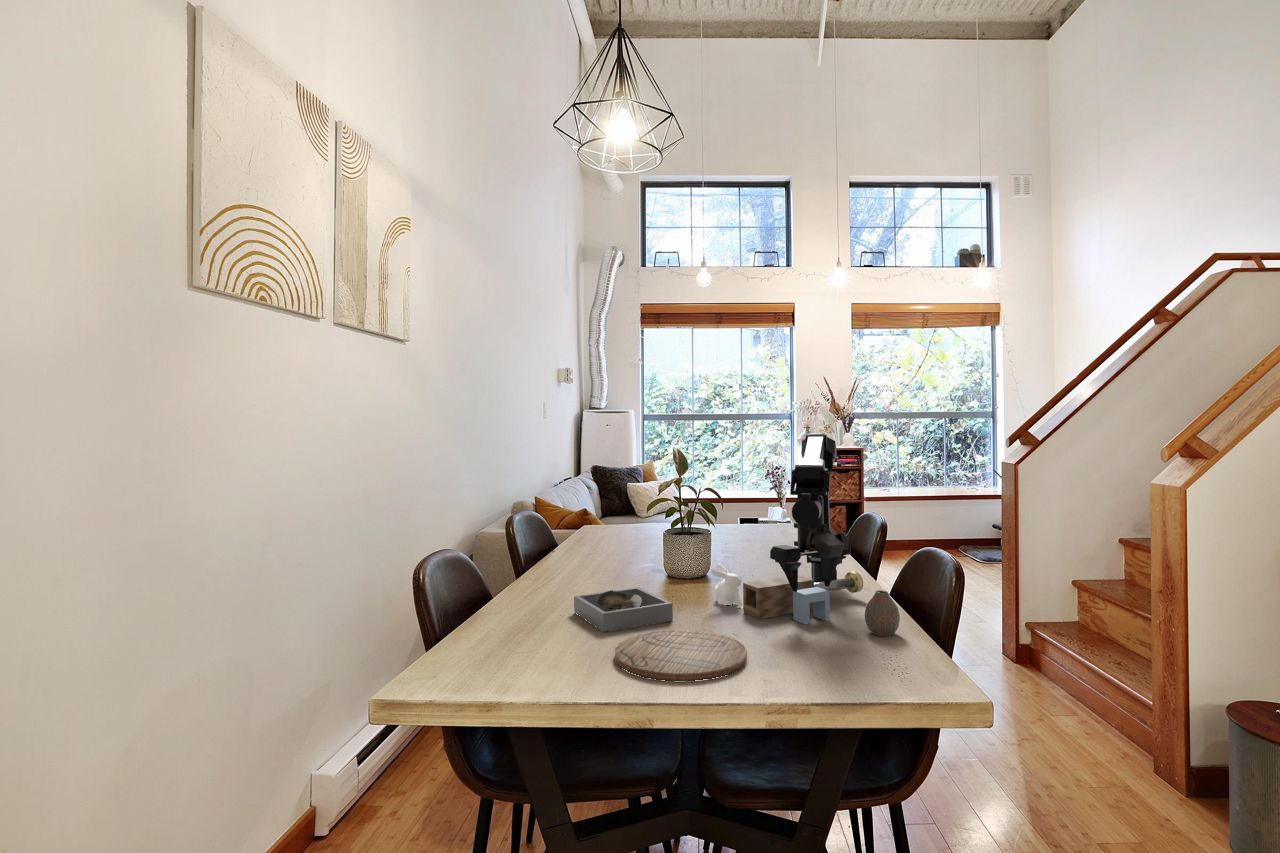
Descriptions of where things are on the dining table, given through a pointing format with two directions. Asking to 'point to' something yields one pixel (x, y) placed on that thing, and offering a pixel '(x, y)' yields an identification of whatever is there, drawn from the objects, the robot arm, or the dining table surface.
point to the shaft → (844, 583)
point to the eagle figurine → (619, 600)
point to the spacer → (808, 596)
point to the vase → (882, 614)
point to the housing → (771, 596)
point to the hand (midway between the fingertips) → (811, 588)
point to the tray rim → (624, 610)
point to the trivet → (680, 655)
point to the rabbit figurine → (727, 587)
